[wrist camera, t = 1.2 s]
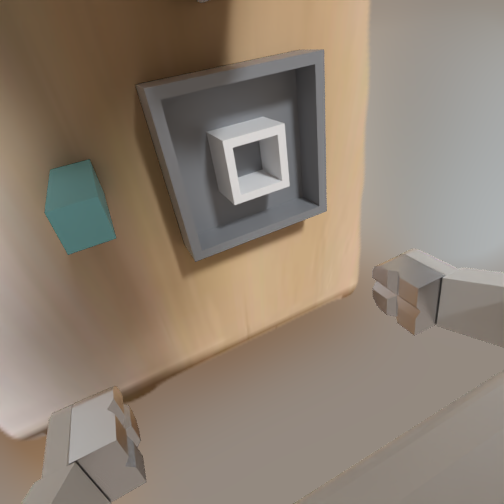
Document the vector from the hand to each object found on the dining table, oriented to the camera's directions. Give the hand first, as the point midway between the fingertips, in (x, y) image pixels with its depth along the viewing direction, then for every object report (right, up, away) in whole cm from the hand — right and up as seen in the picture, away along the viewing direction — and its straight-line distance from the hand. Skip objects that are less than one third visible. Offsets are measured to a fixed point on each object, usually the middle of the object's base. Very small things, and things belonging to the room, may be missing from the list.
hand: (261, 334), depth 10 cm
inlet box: (-2, +15, +33) cm, 37 cm away
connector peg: (-19, +10, +27) cm, 35 cm away
